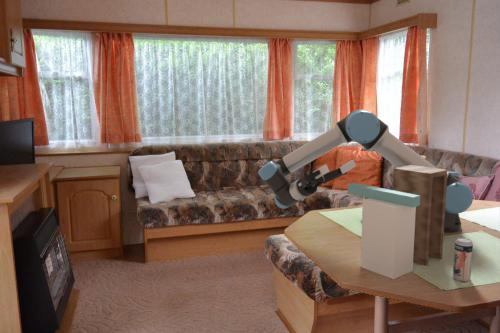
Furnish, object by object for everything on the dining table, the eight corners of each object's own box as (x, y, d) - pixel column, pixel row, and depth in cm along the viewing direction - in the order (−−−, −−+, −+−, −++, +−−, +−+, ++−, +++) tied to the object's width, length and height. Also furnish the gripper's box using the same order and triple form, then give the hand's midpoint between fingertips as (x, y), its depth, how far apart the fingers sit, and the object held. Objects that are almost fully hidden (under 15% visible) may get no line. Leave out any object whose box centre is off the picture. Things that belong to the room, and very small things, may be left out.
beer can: (449, 276, 131) (451, 237, 129) (464, 275, 132) (467, 237, 130) (458, 282, 127) (460, 243, 125) (473, 282, 127) (476, 242, 125)
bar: (347, 193, 144) (347, 184, 144) (354, 191, 147) (354, 182, 146) (412, 207, 126) (413, 197, 125) (419, 205, 128) (420, 195, 127)
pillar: (360, 266, 139) (362, 199, 136) (380, 259, 145) (382, 194, 141) (393, 279, 130) (396, 207, 126) (412, 270, 136) (416, 201, 132)
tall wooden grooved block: (390, 254, 149) (393, 168, 144) (407, 248, 155) (411, 164, 150) (425, 266, 139) (430, 173, 134) (442, 259, 145) (447, 169, 140)
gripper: (329, 191, 173) (368, 170, 156) (282, 202, 158) (319, 180, 142) (322, 174, 174) (360, 151, 158) (275, 183, 160) (311, 159, 143)
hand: (341, 165), depth 150 cm, fingers open, 13 cm apart
